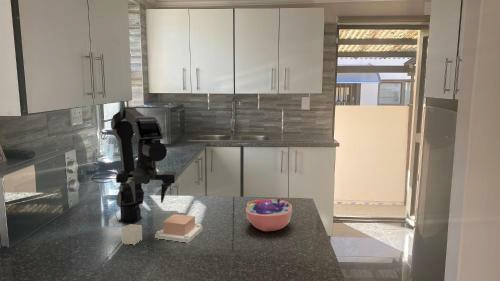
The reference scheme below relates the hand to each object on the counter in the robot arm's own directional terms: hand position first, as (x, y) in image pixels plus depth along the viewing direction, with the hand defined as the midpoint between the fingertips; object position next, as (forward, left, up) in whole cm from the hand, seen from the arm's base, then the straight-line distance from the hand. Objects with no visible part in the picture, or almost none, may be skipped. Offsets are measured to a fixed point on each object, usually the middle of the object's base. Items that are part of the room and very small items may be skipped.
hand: (148, 202), depth 123 cm
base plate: (+8, +6, -12) cm, 16 cm away
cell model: (+36, +21, -13) cm, 44 cm away
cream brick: (-4, -4, -13) cm, 14 cm away
